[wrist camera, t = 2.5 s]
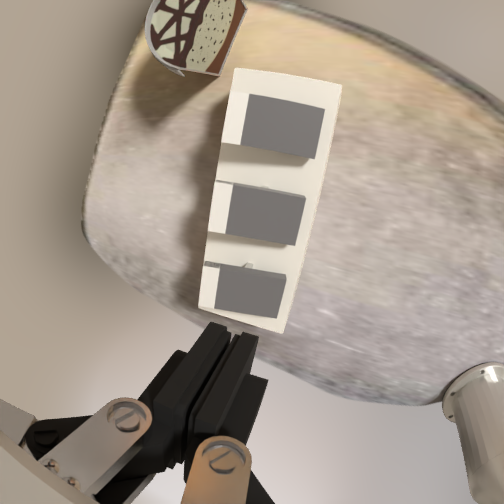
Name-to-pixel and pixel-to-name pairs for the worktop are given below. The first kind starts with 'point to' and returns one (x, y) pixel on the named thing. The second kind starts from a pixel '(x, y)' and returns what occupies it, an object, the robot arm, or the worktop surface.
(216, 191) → the switch
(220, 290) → the switch
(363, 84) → the worktop surface
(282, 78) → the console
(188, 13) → the food container
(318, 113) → the switch
